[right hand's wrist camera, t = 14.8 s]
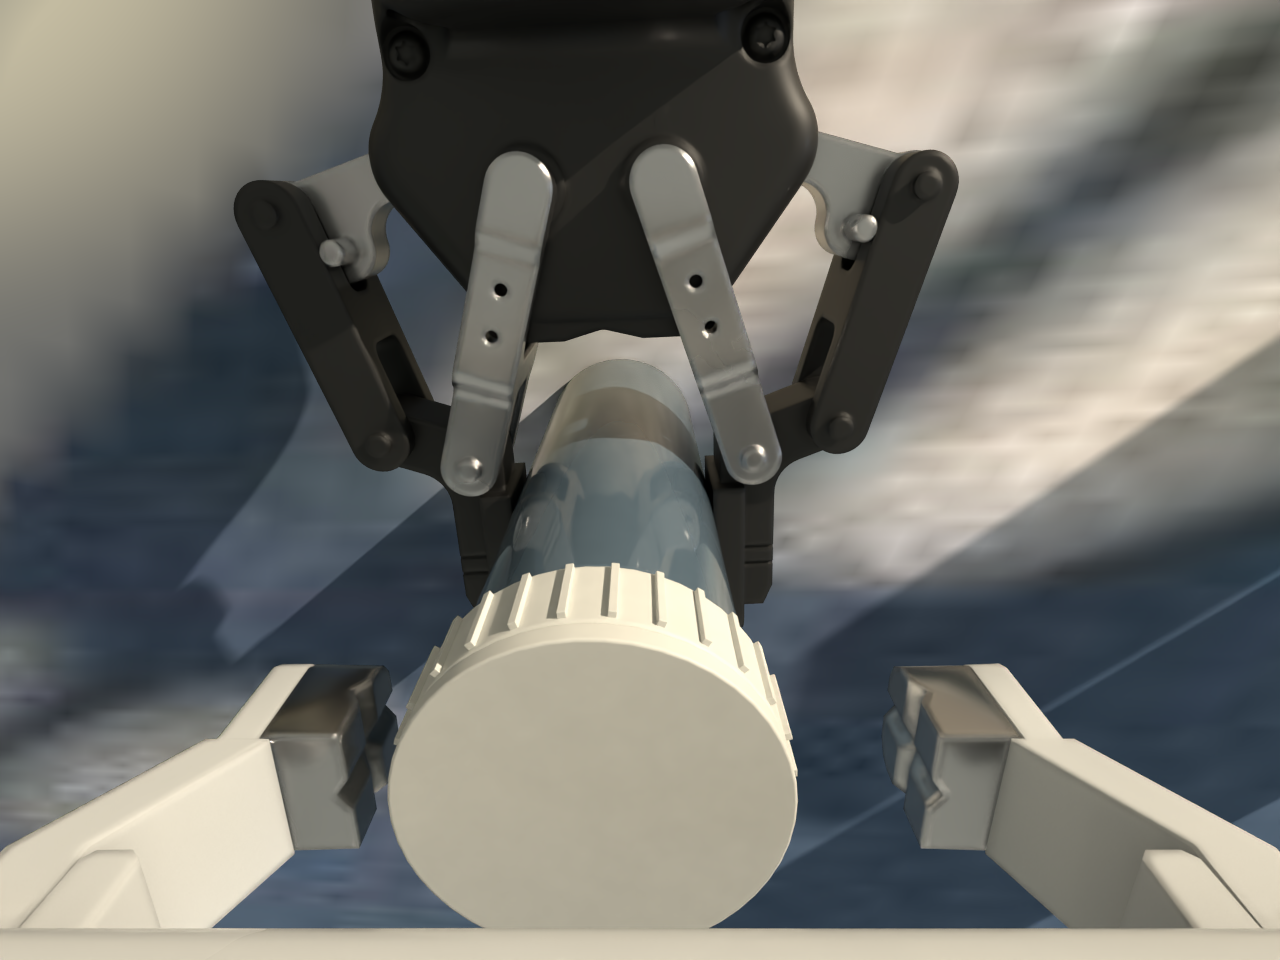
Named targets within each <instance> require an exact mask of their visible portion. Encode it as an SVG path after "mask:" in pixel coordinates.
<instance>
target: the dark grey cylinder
mask: <svg viewBox="0 0 1280 960" xmlns="http://www.w3.org/2000/svg"><path fill="white" fill-rule="evenodd" d="M571 563H574V567H575V568H576V567H585V566H590V567H611V563H619V564H620V568H625V569H634V570H638V571H642V572H646V573H650V574H654V575H655V573H656V571H659V572H663V573H664V578H666V579H669V580H672V581H674V582H677V583H680V584H682V585H684V586H685V587H687V588H689V589H691V590H693V591H695V590H696V589H697V588H700V589H702V590H703V591H704V593H705V598H707V599H708V600H710V601H711V602H712V603H714V604H715V605H717V606H718V607H720V608H721V609H722V610H723V611H724V612H725V613H726V614H728V615H729V614H730V613H731V612H733V613H734V614H736V611H735V607H734V603H733V599H732V594H731V590H730V586H729V581H728V577H727V573H726V568H725V564H724V560H723V555H722V551H721V547H720V542H719V538H718V534H717V529H716V525H715V521H714V516H713V512H712V508H711V503H710V499H709V495H708V490H707V486H706V482H705V477H704V473H703V469H702V464H701V460H700V456H699V451H698V447H697V443H696V438H695V434H694V430H693V425H692V421H691V417H690V413H689V408H688V405H687V403H686V400H685V398H684V396H683V394H682V393H681V391H680V390H679V388H678V387H677V385H676V384H675V383H674V382H673V381H672V380H671V379H670V378H669V377H668V376H667V375H665V374H664V373H663V372H661V371H660V370H658V369H656V368H655V367H653V366H650V365H648V364H646V363H642V362H639V361H634V360H627V359H616V360H608V361H604V362H600V363H597V364H595V365H592V366H590V367H588V368H586V369H585V370H583V371H581V372H580V373H579V374H577V375H576V376H575V377H574V378H573V379H572V380H571V381H570V382H569V383H568V384H567V385H566V387H565V388H564V389H563V391H562V393H561V394H560V396H559V398H558V401H557V403H556V406H555V408H554V411H553V413H552V416H551V418H550V421H549V423H548V426H547V428H546V431H545V433H544V436H543V438H542V441H541V443H540V446H539V448H538V451H537V453H536V456H535V458H534V461H533V463H532V466H531V469H530V471H529V474H528V476H527V479H526V481H525V484H524V486H523V489H522V491H521V494H520V496H519V499H518V501H517V504H516V506H515V509H514V511H513V514H512V516H511V519H510V521H509V524H508V526H507V529H506V531H505V534H504V536H503V539H502V541H501V544H500V546H499V549H498V551H497V554H496V556H495V559H494V561H493V564H492V566H491V569H490V571H489V574H488V577H487V579H486V582H485V584H484V587H483V589H482V592H481V594H480V597H479V599H478V602H477V604H476V606H477V605H479V604H480V603H481V600H482V598H483V595H484V594H485V593H487V592H488V591H491V592H492V593H493V594H495V593H497V592H499V591H500V590H502V589H504V588H506V587H508V586H510V585H512V584H514V583H516V582H519V581H521V577H522V575H524V574H527V573H530V575H531V577H533V576H535V575H538V574H543V573H547V572H551V571H555V570H560V569H565V566H566V564H571Z"/></svg>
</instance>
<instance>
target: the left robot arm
mask: <svg viewBox="0 0 1280 960" xmlns="http://www.w3.org/2000/svg"><path fill="white" fill-rule="evenodd" d="M371 1H372V7H373V14H374V21H375V26H376V32H377V37H378V42H379V48H380V53H381V59H382V66H383V86H382V94H381V100H380V104H379V108H378V112H377V115H376V118H375V121H374V123H373V126H372V129H371V133H370V138H369V154H367V155H364V156H362V157H359V158H356V159H354V160H351V161H349V162H346V163H344V164H341V165H338V166H336V167H333V168H331V169H328V170H325V171H323V172H320V173H318V174H315V175H313V176H310V177H307V178H305V179H302V180H300V181H297V182H292V181H268V180H257V181H252V182H250V183H247V184H246V185H244V186H243V187H242V188H241V189H240V190H239V192H238V193H237V195H236V198H235V202H234V216H235V219H236V222H237V224H238V227H239V229H240V231H241V233H242V235H243V237H244V238H245V240H246V242H247V244H248V246H249V248H250V250H251V252H252V254H253V256H254V258H255V260H256V262H257V264H258V266H259V268H260V270H261V272H262V274H263V276H264V278H265V280H266V282H267V284H268V286H269V288H270V290H271V292H272V293H273V295H274V297H275V299H276V301H277V303H278V305H279V307H280V309H281V311H282V313H283V315H284V317H285V319H286V321H287V323H288V325H289V327H290V329H291V331H292V333H293V335H294V337H295V339H296V341H297V343H298V345H299V347H300V348H301V350H302V352H303V354H304V356H305V358H306V360H307V362H308V364H309V366H310V368H311V370H312V372H313V374H314V376H315V378H316V380H317V382H318V384H319V386H320V388H321V390H322V392H323V394H324V396H325V398H326V400H327V402H328V404H329V405H330V407H331V409H332V411H333V413H334V415H335V417H336V419H337V421H338V423H339V425H340V427H341V429H342V431H343V433H344V435H345V437H346V439H347V441H348V443H349V445H350V447H351V449H352V451H353V453H354V454H355V456H356V458H357V459H358V460H359V461H360V462H361V463H362V464H363V465H365V466H366V467H368V468H370V469H372V470H376V471H391V470H394V469H396V468H398V467H401V468H405V469H408V470H412V471H415V472H419V473H422V474H426V475H428V476H431V477H433V478H434V479H436V480H437V481H439V482H440V483H441V484H442V485H443V486H444V487H445V488H446V490H447V491H448V493H449V494H450V497H451V499H452V503H453V510H454V516H455V523H456V530H457V536H458V543H459V550H460V556H461V563H462V570H463V573H464V575H463V577H464V584H465V590H466V596H467V598H468V599H469V601H470V602H471V604H472V606H473V607H476V604H477V602H478V599H479V597H480V594H481V592H482V589H483V587H484V584H485V582H486V579H487V577H488V574H489V571H490V569H491V566H492V564H493V561H494V559H495V556H496V554H497V551H498V549H499V546H500V544H501V541H502V539H503V536H504V534H505V531H506V529H507V526H508V524H509V521H510V519H511V516H512V514H513V511H514V509H515V506H516V504H517V501H518V499H519V496H520V494H521V491H522V489H523V486H524V484H525V481H526V479H527V476H526V467H525V463H514V455H513V446H514V443H515V439H516V434H517V430H518V425H519V421H520V416H521V412H522V407H523V402H524V398H525V393H526V389H527V384H528V380H529V376H530V373H531V370H532V366H533V363H534V360H535V356H536V351H537V347H538V343H539V342H561V341H567V340H570V339H573V338H576V337H579V336H583V335H586V334H589V333H592V332H595V331H598V330H610V331H614V332H619V333H623V334H628V335H632V336H637V337H641V338H651V337H673V336H681V339H682V342H683V345H684V348H685V351H686V354H687V356H688V359H689V362H690V365H691V368H692V371H693V374H694V377H695V380H696V382H697V385H698V388H699V391H700V393H701V396H702V399H703V402H704V405H705V408H706V411H707V414H708V416H709V419H710V422H711V425H712V428H713V431H714V455H712V456H705V482H706V486H707V490H708V495H709V499H710V503H711V508H712V512H713V516H714V521H715V525H716V529H717V534H718V538H719V542H720V547H721V551H722V555H723V560H724V564H725V568H726V573H727V577H728V581H729V586H730V590H731V594H732V599H733V603H734V607H735V611H736V615H737V617H738V621H739V625H740V627H743V625H744V604H755V603H763V602H764V600H765V598H766V596H767V594H768V592H769V589H770V587H771V585H772V560H773V520H774V489H775V484H776V481H777V479H778V477H779V475H780V473H781V472H782V471H783V470H784V469H785V468H786V467H787V466H788V465H789V464H791V463H792V462H794V461H796V460H798V459H801V458H803V457H806V456H809V455H811V454H814V453H816V452H819V451H822V450H824V451H825V452H828V453H833V454H841V453H846V452H849V451H851V450H853V449H855V448H856V447H857V446H859V445H860V443H861V442H862V441H863V440H864V438H865V437H866V435H867V432H868V430H869V427H870V424H871V421H872V419H873V416H874V413H875V411H876V408H877V405H878V403H879V400H880V397H881V395H882V392H883V389H884V387H885V384H886V381H887V378H888V376H889V373H890V370H891V368H892V365H893V362H894V360H895V357H896V354H897V352H898V349H899V346H900V344H901V341H902V338H903V335H904V333H905V330H906V327H907V325H908V322H909V319H910V317H911V314H912V311H913V309H914V306H915V303H916V301H917V298H918V295H919V292H920V290H921V287H922V284H923V282H924V279H925V276H926V274H927V271H928V268H929V266H930V263H931V260H932V258H933V255H934V252H935V249H936V247H937V244H938V241H939V239H940V236H941V233H942V231H943V228H944V225H945V223H946V220H947V217H948V214H949V212H950V209H951V206H952V204H953V201H954V198H955V196H956V193H957V189H958V183H959V176H958V171H957V168H956V166H955V164H954V162H953V161H952V160H951V158H950V157H949V156H947V155H946V154H944V153H942V152H940V151H937V150H923V151H920V150H913V151H906V152H900V153H895V152H891V151H888V150H884V149H880V148H877V147H873V146H869V145H866V144H862V143H859V142H855V141H851V140H848V139H844V138H840V137H837V136H833V135H829V134H826V133H822V132H818V125H817V120H816V116H815V113H814V110H813V108H812V105H811V103H810V102H809V100H808V98H807V96H806V94H805V92H804V90H803V87H802V85H801V82H800V79H799V76H798V72H797V68H796V63H795V58H794V50H793V15H794V0H371ZM801 185H802V186H803V187H805V188H806V189H807V190H808V191H809V192H810V193H811V195H812V196H813V198H814V201H815V204H816V220H815V236H816V239H817V241H818V243H819V244H820V246H821V247H822V248H823V249H824V250H825V251H827V252H829V253H831V254H834V256H833V259H832V262H831V265H830V268H829V272H828V275H827V278H826V281H825V284H824V287H823V290H822V293H821V296H820V299H819V302H818V305H817V309H816V312H815V315H814V318H813V321H812V324H811V327H810V330H809V333H808V336H807V339H806V342H805V346H804V349H803V352H802V355H801V358H800V361H799V364H798V367H797V370H796V373H795V376H794V379H793V382H792V385H790V386H787V387H785V388H782V389H780V390H777V391H775V392H772V393H770V394H767V395H765V396H764V394H763V390H762V387H761V384H760V381H759V377H758V370H757V366H756V362H755V358H754V355H753V352H752V349H751V346H750V342H749V339H748V336H747V333H746V330H745V326H744V323H743V320H742V317H741V314H740V310H739V307H738V304H737V301H736V298H735V294H734V291H733V288H732V285H733V284H734V283H735V281H736V280H737V278H738V277H739V275H740V274H741V272H742V271H743V269H744V268H745V267H746V265H747V264H748V262H749V261H750V259H751V258H752V256H753V255H754V253H755V252H756V251H757V249H758V248H759V246H760V245H761V243H762V242H763V240H764V239H765V237H766V236H767V234H768V233H769V232H770V230H771V229H772V227H773V226H774V224H775V223H776V221H777V220H778V218H779V217H780V216H781V214H782V213H783V211H784V210H785V208H786V207H787V205H788V204H789V202H790V201H791V200H792V198H793V197H794V195H795V194H796V192H797V191H798V189H799V188H800V186H801ZM393 208H395V209H396V210H397V211H398V212H399V213H400V215H401V216H402V217H403V218H404V219H405V220H406V222H407V223H408V224H409V225H410V226H411V227H412V229H413V230H414V231H415V232H416V233H417V234H418V236H419V237H420V238H421V239H422V240H423V241H424V243H425V244H426V245H427V246H428V247H429V248H430V250H431V251H432V252H433V253H434V254H435V255H436V257H437V258H438V259H439V260H440V261H441V262H442V264H443V265H444V266H445V267H446V268H447V269H448V271H449V272H450V273H451V274H452V275H453V276H454V278H455V279H456V280H457V281H458V282H459V283H460V285H461V286H462V287H463V288H464V289H465V290H466V292H467V294H466V300H465V305H464V311H463V316H462V322H461V328H460V333H459V339H458V344H457V350H456V356H455V361H454V367H453V373H452V385H453V387H454V393H453V399H452V405H451V406H448V405H445V404H442V403H438V402H435V401H434V399H433V397H432V395H431V393H430V391H429V388H428V386H427V384H426V382H425V380H424V377H423V375H422V373H421V371H420V369H419V366H418V364H417V362H416V360H415V358H414V355H413V353H412V351H411V349H410V347H409V344H408V342H407V340H406V338H405V336H404V333H403V331H402V329H401V327H400V325H399V322H398V320H397V318H396V316H395V314H394V311H393V309H392V307H391V305H390V302H389V300H388V298H387V296H386V294H385V291H384V289H383V287H382V285H381V283H380V280H379V278H378V276H377V274H379V273H380V272H381V271H382V270H383V269H384V268H385V267H386V265H387V263H388V260H389V256H390V247H389V243H388V239H387V236H386V221H387V218H388V215H389V213H390V212H391V210H392V209H393Z"/></svg>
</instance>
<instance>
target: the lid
mask: <svg viewBox="0 0 1280 960" xmlns="http://www.w3.org/2000/svg"><path fill="white" fill-rule="evenodd" d="M406 708H407V709H408V710H407V712H406V714H405V717H404V719H403V721H402V723H401V725H400V728H399V730H398V732H397V734H396V737H395V740H394V745H397V746H396V749H395V752H394V754H393V757H392V761H391V766H390V771H389V777H388V805H389V811H390V818H391V823H392V826H393V829H394V832H395V835H396V838H397V842H398V844H399V846H400V848H401V850H402V852H403V853H404V855H405V857H406V859H407V861H408V863H409V864H410V865H411V867H412V868H413V870H414V871H415V872H416V874H417V875H418V877H419V878H420V879H421V880H422V881H423V882H424V884H425V885H426V886H427V887H428V888H429V889H430V890H431V891H432V892H433V893H434V894H435V895H436V896H437V897H438V898H439V899H441V900H442V901H443V902H444V903H445V904H447V905H448V906H449V907H450V908H451V909H453V910H454V911H456V912H457V913H459V914H460V915H462V916H463V917H465V918H466V919H468V920H469V921H471V922H473V923H475V924H477V925H479V926H481V927H483V928H710V927H712V926H714V925H716V924H718V923H720V922H721V921H723V920H724V919H726V918H727V917H729V916H730V915H732V914H733V913H734V912H736V911H737V910H739V909H740V908H741V907H742V906H743V905H745V904H746V903H747V902H748V901H749V900H750V899H751V898H753V897H754V896H755V895H756V894H757V893H758V892H759V890H760V889H761V888H762V887H763V886H764V885H765V884H766V882H767V881H768V880H769V879H770V877H771V876H772V874H773V873H774V871H775V870H776V868H777V867H778V865H779V864H780V862H781V860H782V858H783V856H784V854H785V852H786V850H787V847H788V845H789V843H790V839H791V836H792V832H793V829H794V825H795V821H796V812H797V803H798V798H797V782H796V776H797V767H796V763H795V760H794V756H793V753H792V749H791V745H790V742H789V740H791V739H793V738H792V734H791V730H790V727H789V723H788V720H787V716H786V713H785V709H784V706H783V702H782V699H781V695H780V692H779V688H778V684H777V681H776V678H775V675H769V672H768V668H767V664H766V661H765V657H764V653H763V650H762V646H761V645H760V643H759V642H756V643H752V641H751V639H750V638H749V637H748V636H747V635H746V633H745V632H744V631H743V630H742V629H741V627H740V625H739V621H738V617H737V615H736V614H734V613H733V612H731V613H730V614H729V615H728V614H726V613H725V612H724V611H723V610H722V609H721V608H720V607H718V606H717V605H715V604H714V603H712V602H711V601H710V600H708V599H707V598H705V593H704V591H703V590H702V589H700V588H697V589H696V590H695V591H693V590H691V589H689V588H687V587H685V586H684V585H682V584H680V583H677V582H674V581H672V580H669V579H666V578H664V573H663V572H659V571H656V573H655V575H654V574H650V573H646V572H642V571H638V570H634V569H625V568H620V564H619V563H611V567H590V566H585V567H576V568H575V567H574V563H571V564H566V566H565V569H560V570H555V571H551V572H547V573H543V574H538V575H535V576H533V577H531V575H530V573H527V574H524V575H522V577H521V581H519V582H516V583H514V584H512V585H510V586H508V587H506V588H504V589H502V590H500V591H499V592H497V593H495V594H493V593H492V592H491V591H488V592H487V593H485V594H484V595H483V598H482V600H481V603H480V604H479V605H477V606H476V607H474V608H473V609H472V610H471V611H470V612H469V613H468V614H467V615H466V616H465V617H464V618H463V619H462V618H461V617H459V616H457V617H456V618H455V619H454V620H453V622H452V624H451V626H450V629H449V631H448V633H447V635H446V638H445V640H444V642H443V644H442V646H441V648H439V647H436V646H434V647H433V649H432V651H431V653H430V656H429V658H428V660H427V662H426V664H425V667H424V669H423V671H422V673H421V675H420V678H419V680H418V682H417V684H416V686H415V689H414V691H413V693H412V695H411V697H410V699H409V702H408V704H407V706H406Z"/></svg>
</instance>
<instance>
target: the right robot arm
mask: <svg viewBox="0 0 1280 960" xmlns="http://www.w3.org/2000/svg"><path fill="white" fill-rule="evenodd" d="M391 692H392V685H391V680H390V674H389V671H388V670H387V669H386V668H385V667H384V666H376V665H329V664H316V665H313V664H281V665H279V666H276V667H274V668H273V669H272V670H271V671H270V672H269V674H268V675H267V676H266V677H265V679H264V680H263V681H262V683H261V684H260V685H259V686H258V688H257V689H256V690H255V691H254V693H253V694H252V695H251V696H250V698H249V699H248V700H247V702H246V703H245V704H244V705H243V707H242V708H241V709H240V710H239V712H238V713H237V714H236V715H235V717H234V718H233V719H232V720H231V722H230V723H229V724H228V726H227V727H226V728H225V729H224V731H223V732H222V733H221V734H220V736H219V737H218V738H217V739H205V740H203V741H201V742H199V743H197V744H195V745H194V746H192V747H190V748H188V749H186V750H184V751H182V752H181V753H179V754H177V755H175V756H173V757H171V758H169V759H168V760H166V761H164V762H162V763H160V764H158V765H156V766H155V767H153V768H151V769H149V770H147V771H145V772H143V773H142V774H140V775H138V776H136V777H134V778H132V779H130V780H129V781H127V782H125V783H123V784H121V785H119V786H117V787H116V788H114V789H112V790H110V791H108V792H106V793H104V794H103V795H101V796H99V797H97V798H95V799H93V800H91V801H90V802H88V803H86V804H84V805H82V806H80V807H79V808H77V809H75V810H73V811H71V812H69V813H67V814H66V815H64V816H62V817H60V818H58V819H56V820H54V821H53V822H51V823H49V824H47V825H45V826H43V827H41V828H40V829H38V830H36V831H34V832H32V833H30V834H28V835H27V836H25V837H23V838H21V839H19V840H17V841H15V842H14V843H12V844H10V845H8V846H6V847H5V848H4V849H3V850H2V851H1V852H0V960H1280V852H1279V851H1278V850H1277V849H1276V848H1275V847H1273V846H1271V845H1270V844H1268V843H1266V842H1264V841H1262V840H1260V839H1258V838H1257V837H1255V836H1253V835H1251V834H1249V833H1247V832H1246V831H1244V830H1242V829H1240V828H1238V827H1236V826H1234V825H1233V824H1231V823H1229V822H1227V821H1225V820H1223V819H1221V818H1220V817H1218V816H1216V815H1214V814H1212V813H1210V812H1209V811H1207V810H1205V809H1203V808H1201V807H1199V806H1197V805H1196V804H1194V803H1192V802H1190V801H1188V800H1186V799H1184V798H1183V797H1181V796H1179V795H1177V794H1175V793H1173V792H1172V791H1170V790H1168V789H1166V788H1164V787H1162V786H1160V785H1159V784H1157V783H1155V782H1153V781H1151V780H1149V779H1147V778H1146V777H1144V776H1142V775H1140V774H1138V773H1136V772H1135V771H1133V770H1131V769H1129V768H1127V767H1125V766H1123V765H1122V764H1120V763H1118V762H1116V761H1114V760H1112V759H1110V758H1109V757H1107V756H1105V755H1103V754H1101V753H1099V752H1097V751H1096V750H1094V749H1092V748H1090V747H1088V746H1086V745H1085V744H1083V743H1081V742H1079V741H1077V740H1075V739H1063V738H1062V737H1061V736H1060V734H1059V733H1058V732H1057V731H1056V729H1055V728H1054V727H1053V726H1052V724H1051V723H1050V722H1049V721H1048V719H1047V718H1046V717H1045V716H1044V714H1043V713H1042V712H1041V711H1040V709H1039V708H1038V707H1037V705H1036V704H1035V703H1034V702H1033V700H1032V699H1031V698H1030V697H1029V695H1028V694H1027V693H1026V692H1025V690H1024V689H1023V688H1022V687H1021V685H1020V684H1019V683H1018V682H1017V680H1016V679H1015V678H1014V676H1013V675H1012V674H1011V673H1010V671H1009V670H1008V669H1007V668H1006V667H1004V666H1002V665H1000V664H972V665H963V666H894V668H893V670H892V672H891V674H890V678H889V684H888V692H889V694H890V697H891V699H892V701H893V703H894V706H893V707H892V708H891V709H890V710H889V711H888V712H887V713H886V714H885V715H884V718H883V727H882V748H883V757H884V761H885V765H886V769H887V772H888V774H889V776H890V779H891V781H892V784H894V785H895V786H896V787H898V788H899V789H900V790H902V791H903V792H904V793H906V795H905V801H904V808H903V809H904V811H905V814H906V816H907V818H908V821H909V823H910V825H911V827H912V830H913V832H914V834H915V836H916V839H917V841H918V843H919V845H920V848H925V849H961V850H986V851H985V854H987V855H988V856H989V857H990V858H991V859H992V860H993V861H994V862H995V863H997V864H998V865H999V866H1000V867H1001V868H1002V869H1003V870H1004V871H1006V872H1007V873H1008V874H1009V875H1010V876H1011V877H1012V878H1013V879H1014V880H1016V881H1017V882H1018V883H1019V884H1020V885H1021V886H1022V887H1023V888H1025V889H1026V890H1027V891H1028V892H1029V893H1030V894H1031V895H1032V896H1033V897H1035V898H1036V899H1037V900H1038V901H1039V902H1040V903H1041V904H1042V905H1044V906H1045V907H1046V908H1047V909H1048V910H1049V911H1050V912H1051V913H1053V914H1054V915H1055V916H1056V917H1057V918H1058V919H1059V920H1060V921H1061V922H1063V923H1064V924H1065V925H1066V926H1067V927H1068V928H1069V929H757V928H333V929H248V928H212V927H213V926H214V925H215V924H217V923H218V922H219V921H220V920H221V919H222V918H223V917H224V916H225V915H227V914H228V913H229V912H230V911H231V910H232V909H233V908H234V907H236V906H237V905H238V904H239V903H240V902H241V901H242V900H243V899H245V898H246V897H247V896H248V895H249V894H250V893H251V892H252V891H254V890H255V889H256V888H257V887H258V886H259V885H260V884H261V883H262V882H264V881H265V880H266V879H267V878H268V877H269V876H270V875H271V874H273V873H274V872H275V871H276V870H277V869H278V868H279V867H280V866H282V865H283V864H284V863H285V862H286V861H287V860H288V859H289V858H291V857H292V856H293V855H294V853H295V852H294V850H318V849H353V848H360V846H361V843H362V841H363V839H364V837H365V834H366V832H367V830H368V827H369V825H370V823H371V821H372V818H373V816H374V814H375V811H376V809H377V808H376V801H375V795H374V793H376V792H377V791H378V790H380V789H381V788H382V787H384V786H385V785H386V784H388V777H389V771H390V766H391V761H392V757H393V754H394V752H395V749H396V746H397V745H394V740H395V737H396V734H397V732H398V725H397V718H396V715H395V714H394V713H393V712H392V711H391V710H390V709H389V708H388V707H387V706H386V703H387V701H388V699H389V697H390V694H391Z"/></svg>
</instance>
